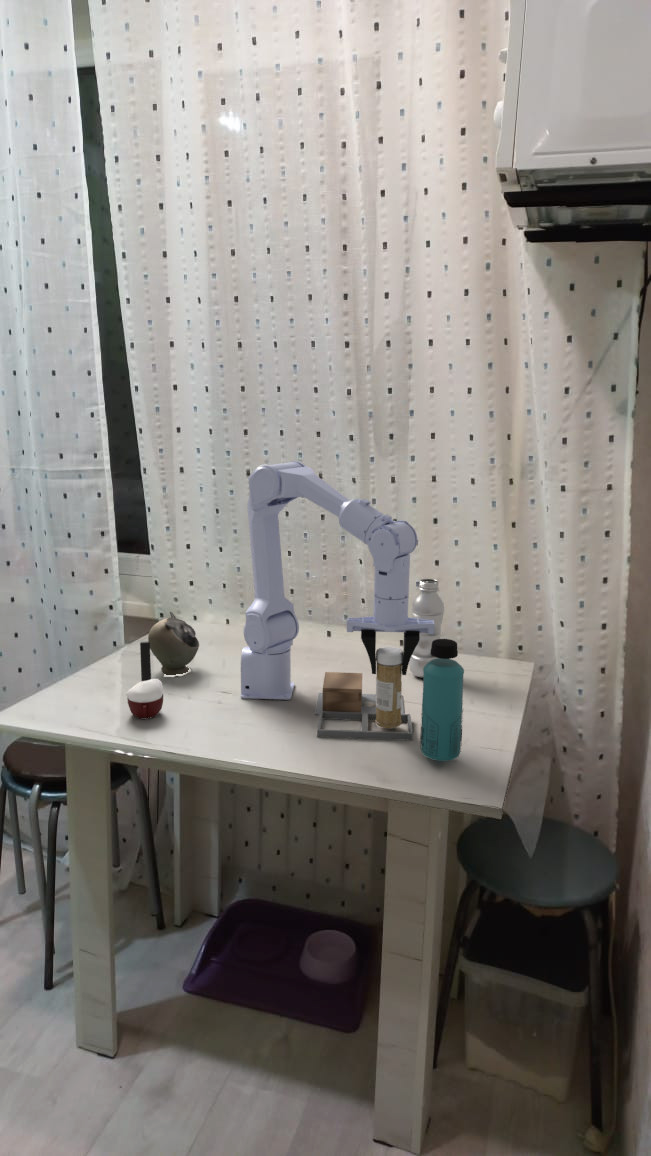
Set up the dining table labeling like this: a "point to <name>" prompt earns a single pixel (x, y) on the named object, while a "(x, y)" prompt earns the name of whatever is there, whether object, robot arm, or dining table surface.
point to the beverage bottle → (442, 703)
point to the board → (366, 705)
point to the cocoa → (145, 689)
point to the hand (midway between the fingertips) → (388, 672)
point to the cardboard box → (342, 692)
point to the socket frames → (364, 733)
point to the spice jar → (388, 687)
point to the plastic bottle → (428, 609)
